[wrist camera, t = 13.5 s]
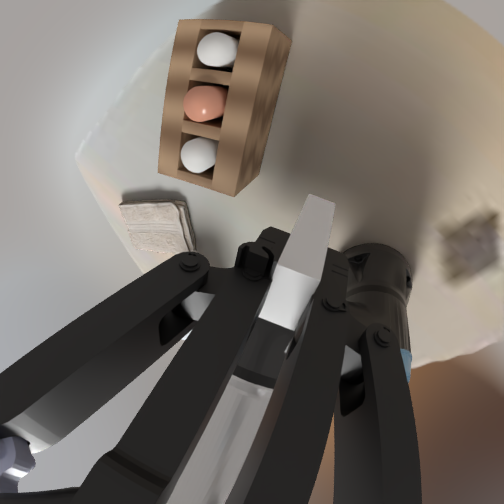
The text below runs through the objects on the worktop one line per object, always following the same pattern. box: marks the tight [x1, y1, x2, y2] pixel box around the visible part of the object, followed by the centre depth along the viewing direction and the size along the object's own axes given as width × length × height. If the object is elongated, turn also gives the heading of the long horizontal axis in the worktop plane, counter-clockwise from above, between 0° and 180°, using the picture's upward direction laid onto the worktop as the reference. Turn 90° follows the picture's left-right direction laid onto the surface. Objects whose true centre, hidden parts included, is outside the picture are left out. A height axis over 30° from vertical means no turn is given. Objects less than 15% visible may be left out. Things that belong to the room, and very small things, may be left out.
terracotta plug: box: [183, 86, 229, 122], centre depth 31 cm, size 4×4×9 cm
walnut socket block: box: [158, 19, 292, 197], centre depth 32 cm, size 22×12×10 cm, turn 167°
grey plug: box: [197, 32, 240, 69], centre depth 28 cm, size 4×4×9 cm
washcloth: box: [119, 199, 196, 254], centre depth 54 cm, size 12×18×3 cm, turn 98°
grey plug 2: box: [181, 136, 219, 173], centre depth 36 cm, size 4×4×9 cm
